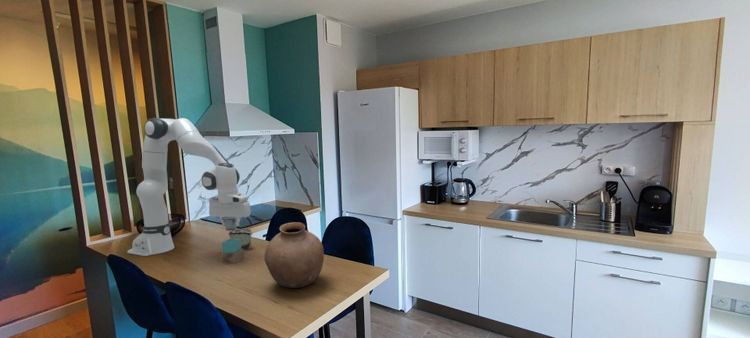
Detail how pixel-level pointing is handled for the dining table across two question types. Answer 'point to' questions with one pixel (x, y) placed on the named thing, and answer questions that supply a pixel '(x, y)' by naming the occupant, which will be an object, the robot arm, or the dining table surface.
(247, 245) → the food container
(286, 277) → the pottery
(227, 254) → the walnut base block
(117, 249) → the dining table surface
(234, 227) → the metal cylinder
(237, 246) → the teal middle block
